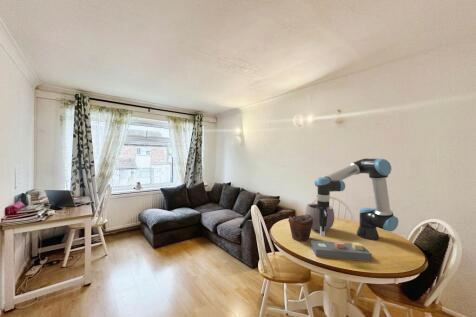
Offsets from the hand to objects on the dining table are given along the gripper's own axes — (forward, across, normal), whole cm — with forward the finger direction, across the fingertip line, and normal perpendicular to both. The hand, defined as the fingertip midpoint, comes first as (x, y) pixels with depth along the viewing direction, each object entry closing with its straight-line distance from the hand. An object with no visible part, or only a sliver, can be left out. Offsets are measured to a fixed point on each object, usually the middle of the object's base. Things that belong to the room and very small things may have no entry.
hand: (322, 235), depth 136 cm
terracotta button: (+8, 0, +11) cm, 13 cm away
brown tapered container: (+11, -21, -11) cm, 26 cm away
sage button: (+10, 0, 0) cm, 10 cm away
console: (+11, 0, +11) cm, 16 cm away
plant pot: (+11, -44, +9) cm, 46 cm away
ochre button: (+8, 0, +22) cm, 23 cm away
